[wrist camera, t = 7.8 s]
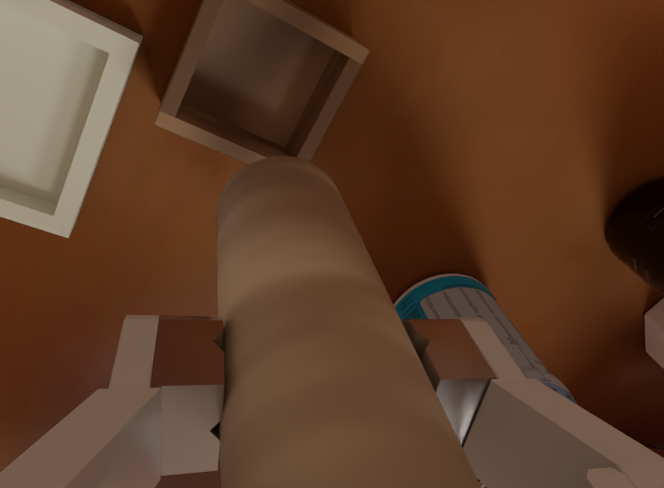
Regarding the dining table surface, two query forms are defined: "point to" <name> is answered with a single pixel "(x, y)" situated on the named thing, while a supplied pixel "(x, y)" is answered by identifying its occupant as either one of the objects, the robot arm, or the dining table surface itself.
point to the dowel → (317, 348)
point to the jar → (655, 332)
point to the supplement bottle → (641, 233)
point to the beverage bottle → (474, 302)
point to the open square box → (259, 79)
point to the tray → (56, 105)
